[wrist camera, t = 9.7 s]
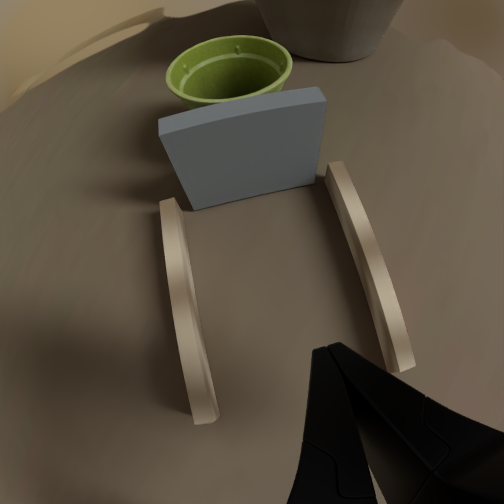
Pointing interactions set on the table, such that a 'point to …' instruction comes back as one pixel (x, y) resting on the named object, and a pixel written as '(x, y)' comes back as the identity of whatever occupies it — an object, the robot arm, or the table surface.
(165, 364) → the table surface
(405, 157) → the table surface
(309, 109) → the board
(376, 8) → the plant pot
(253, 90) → the plant pot
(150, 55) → the table surface
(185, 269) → the wooden rail frame
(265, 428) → the table surface
